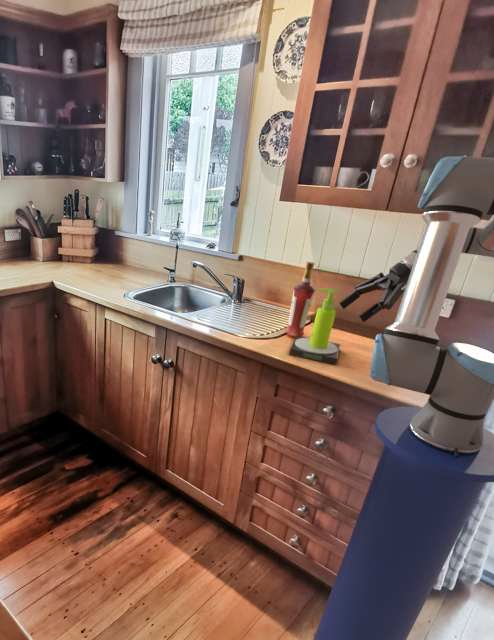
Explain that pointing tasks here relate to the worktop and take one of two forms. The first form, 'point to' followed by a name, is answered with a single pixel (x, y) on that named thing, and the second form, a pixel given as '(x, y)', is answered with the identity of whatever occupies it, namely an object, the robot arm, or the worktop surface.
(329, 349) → the kitchen scale
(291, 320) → the liquor
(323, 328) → the soap dispenser
